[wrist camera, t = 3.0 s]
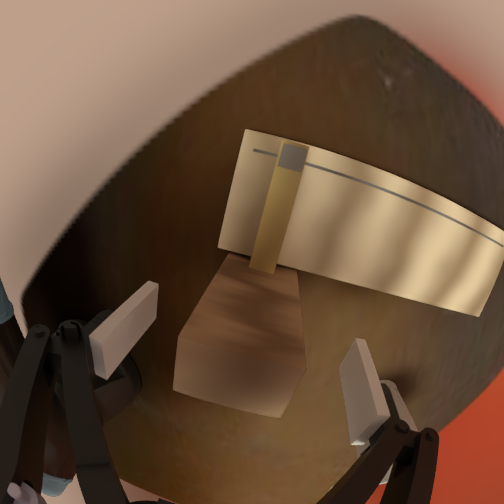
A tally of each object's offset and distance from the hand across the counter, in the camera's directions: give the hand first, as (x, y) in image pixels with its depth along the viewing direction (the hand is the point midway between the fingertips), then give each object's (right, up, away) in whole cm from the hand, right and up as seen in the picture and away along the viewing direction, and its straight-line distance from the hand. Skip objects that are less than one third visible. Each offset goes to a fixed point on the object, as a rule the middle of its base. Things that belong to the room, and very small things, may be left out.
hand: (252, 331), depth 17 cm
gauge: (+2, +7, +7) cm, 10 cm away
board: (+13, +7, +6) cm, 16 cm away
